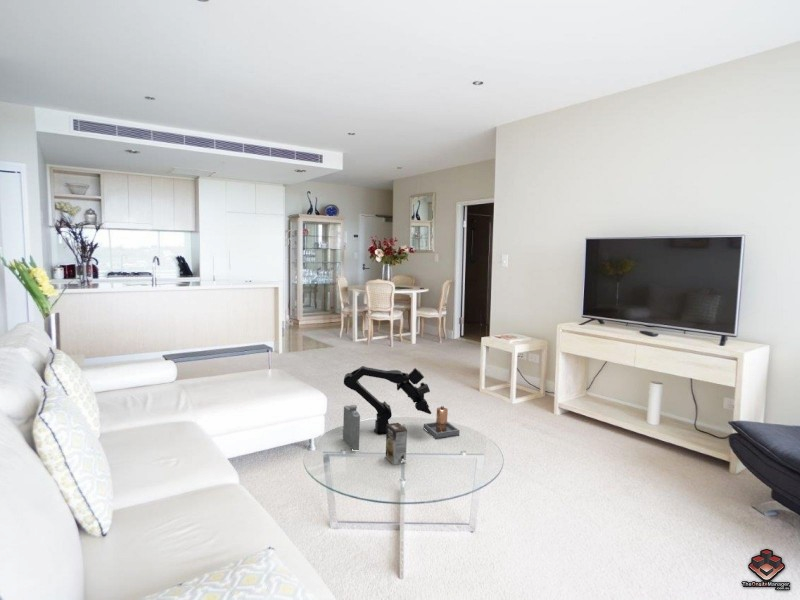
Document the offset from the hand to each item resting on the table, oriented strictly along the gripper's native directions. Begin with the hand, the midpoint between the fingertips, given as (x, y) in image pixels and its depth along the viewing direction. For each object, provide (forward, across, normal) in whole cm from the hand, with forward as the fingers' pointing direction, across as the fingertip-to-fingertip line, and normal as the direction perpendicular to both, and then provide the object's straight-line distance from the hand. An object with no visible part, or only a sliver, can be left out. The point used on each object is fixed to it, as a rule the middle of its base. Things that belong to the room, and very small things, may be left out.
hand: (429, 410), depth 248 cm
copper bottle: (+13, 0, +3) cm, 13 cm away
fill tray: (+13, 0, +4) cm, 14 cm away
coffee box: (-5, -32, +23) cm, 40 cm away
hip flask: (-20, -16, +38) cm, 45 cm away
